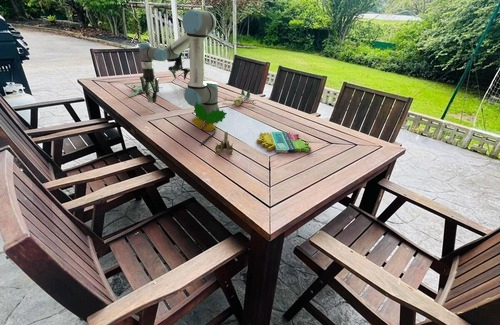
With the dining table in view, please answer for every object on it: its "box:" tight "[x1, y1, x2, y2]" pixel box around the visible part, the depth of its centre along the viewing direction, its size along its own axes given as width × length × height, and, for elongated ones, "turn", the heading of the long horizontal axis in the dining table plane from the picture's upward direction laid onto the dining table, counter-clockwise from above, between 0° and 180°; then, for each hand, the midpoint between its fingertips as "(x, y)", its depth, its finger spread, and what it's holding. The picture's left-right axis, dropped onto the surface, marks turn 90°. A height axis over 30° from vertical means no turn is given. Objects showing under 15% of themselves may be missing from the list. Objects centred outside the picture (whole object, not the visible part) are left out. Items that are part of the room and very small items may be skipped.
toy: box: [223, 89, 257, 106], centre depth 219 cm, size 28×7×30 cm
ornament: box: [191, 102, 228, 132], centre depth 162 cm, size 21×8×15 cm, turn 105°
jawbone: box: [214, 131, 234, 156], centre depth 136 cm, size 9×15×10 cm
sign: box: [256, 131, 312, 154], centre depth 152 cm, size 26×2×30 cm
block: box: [146, 93, 155, 104], centre depth 189 cm, size 5×4×5 cm
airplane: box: [127, 82, 164, 98], centre depth 226 cm, size 38×31×10 cm
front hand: (152, 101), depth 190 cm, fingers closed on block, 4 cm apart
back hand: (179, 79), depth 238 cm, fingers open, 9 cm apart
